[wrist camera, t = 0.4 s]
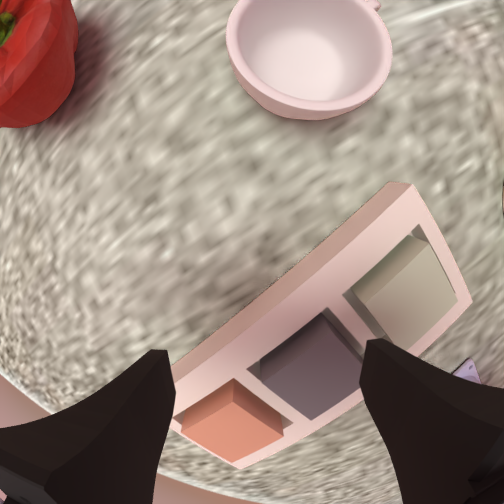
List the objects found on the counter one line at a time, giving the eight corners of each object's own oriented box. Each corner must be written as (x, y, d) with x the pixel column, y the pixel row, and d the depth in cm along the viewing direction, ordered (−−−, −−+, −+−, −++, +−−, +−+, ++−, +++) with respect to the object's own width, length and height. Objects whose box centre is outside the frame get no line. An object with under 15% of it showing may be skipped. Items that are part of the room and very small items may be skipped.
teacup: (292, 157, 17) (313, 148, 11) (203, 69, 15) (188, 30, 10) (396, 69, 15) (440, 43, 10) (316, -9, 14) (337, -53, 8)
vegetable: (74, -8, 12) (10, -65, 3) (146, 45, 14) (75, -39, 5) (-10, 96, 14) (-94, 83, 4) (41, 169, 16) (-69, 179, 6)
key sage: (437, 287, 17) (458, 301, 15) (386, 334, 18) (402, 354, 15) (406, 233, 16) (429, 243, 14) (348, 287, 17) (364, 304, 14)
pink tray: (450, 287, 19) (472, 301, 16) (240, 444, 22) (240, 469, 19) (388, 181, 17) (412, 183, 14) (151, 381, 20) (140, 406, 17)
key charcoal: (360, 355, 18) (373, 377, 16) (304, 396, 19) (311, 420, 16) (320, 311, 17) (331, 331, 15) (259, 358, 18) (261, 382, 15)
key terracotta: (280, 411, 19) (284, 436, 17) (232, 439, 20) (231, 462, 17) (233, 376, 18) (232, 401, 16) (185, 408, 19) (180, 432, 16)
